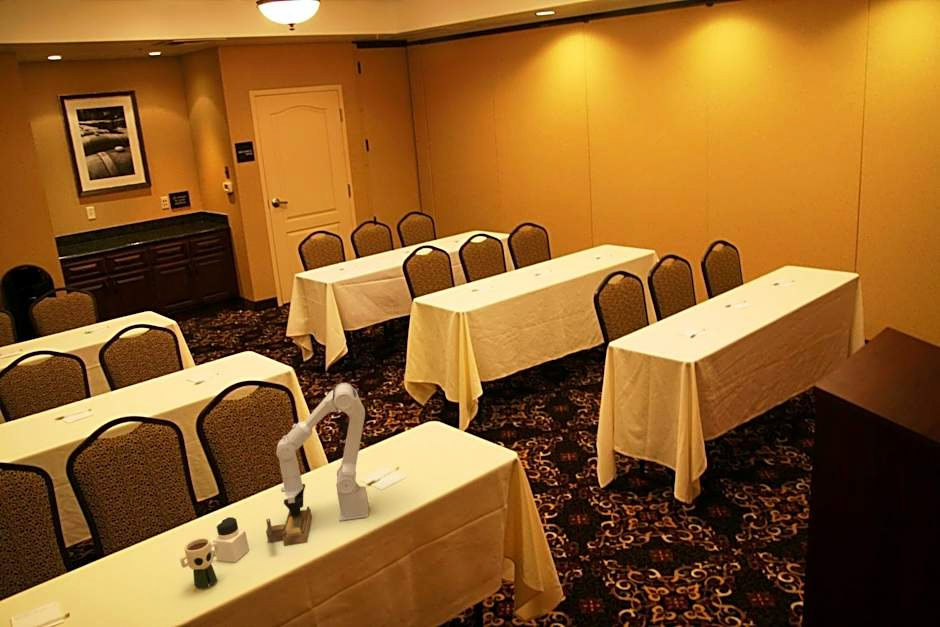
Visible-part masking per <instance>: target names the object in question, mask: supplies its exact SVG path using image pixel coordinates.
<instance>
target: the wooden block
mask: <svg viewBox="0 0 940 627" xmlns="http://www.w3.org/2000/svg"><path fill="white" fill-rule="evenodd" d="M303 523H304V518H303V515H299V516H293V517H289V520H288V523H287V527H286V534H287V535H293V534H299V533H301V531H302V527H303Z"/></svg>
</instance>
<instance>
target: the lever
mask: <svg viewBox="0 0 940 627" xmlns="http://www.w3.org/2000/svg"><path fill="white" fill-rule="evenodd" d="M265 520H266V528H267V527H268V533H269V539H270V544H272V543H274V541H273V534H272V527H271V526H272V522H271V518H266V519H265Z"/></svg>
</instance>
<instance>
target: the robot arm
mask: <svg viewBox="0 0 940 627" xmlns="http://www.w3.org/2000/svg"><path fill="white" fill-rule="evenodd" d="M338 410H339V411H341V412H342V413H345V414H346V415H347V417H349V420H348V421H349V422H348V427H347V432H346V433H347V434H346V439H345V443H344V444H345V445H344V450H343V454H342V455H343V456H342V460H341V464H340V466H339V468H337V470H336V485H335V486H336V493H337V499H338V503H339V508H340V509H339V510H340V512H339V519H338V520H339V522H341V521H342V522H343V521H349V520H357V519H361V518H368V517H369V516H370V515H369V514H370V503H369V497H368V491H367V487H366V486H362V485H361V486H360V484H359V483H358V482H357V481H356V478H357V477H356V476H357V472H356V468H357V462H358V456H359V450H360V445H361V440H362V439H361V438H362V433H363V428H364V423H365V418H366V410H365V407H364V405H363V403H362V400H361V398H360V397H359V394H358V392H357V390H356V389H355V388H354V387H353V386H352V385H351V384H350V383H349V382H340V383H338V384H337V385H336V386H335V388H334V389H332V390H331V391H329V393H328V394H326V396H325V397H324V398H323V399H322V401H321V402H319V404H318V405H317V406H316V408H315V409H314V410H313V411H312V412H311V413H310V415H309V416H308V417H307V418H306V419H305V420H301V421H298V422H297V423H294V424H293V425H292V429H291V430H290V431H289V432H288V433H287V434H285V435H283V437H282V438H281V439H280V440H279V441H278V442H277V447H276V451H275V452H276V457H277V458H278V461H279V468H280V471H281V472H280V474H281V479H282V484H283V487H281V488H280V491H281V493H285V495H286V497H287V498H285V499H284V500H283V504H284V505H285V507H286V508H287V509H288V510H289V511H290V513H291V515H292V517H293V516H299V515H301V512H300V511H301V509H302V508H303V507H304V493H305V488H306V484H305V483H303V481H302V476H301V471H300V467H299V465H300V464H299V460H298V457H297V453H296V450H299V449H300V448H301V447H302V446H303V444H305V443H306V441H307V440H308V439H309V438H310V437H311V436H312V435H313V428H314V427H315V426H316V425H317V424H318V423H319V422H320V421H321V420H323V418H325V416H326V415H327V414H328V413H337V412H338ZM289 511H288V512H289Z"/></svg>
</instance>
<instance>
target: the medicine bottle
mask: <svg viewBox="0 0 940 627" xmlns="http://www.w3.org/2000/svg"><path fill="white" fill-rule="evenodd" d="M215 526H216V532H217V536H216V537H215V538H214V539H212V543H214V542H216V543H217V546H218V552H217V553H215V556H216V561H218V562H227V563H237V562H238V561H240V560H241V558H242V557H243V556H245V554H247V553H248V552H249V550H250V547H249V544H248V543H249V542H248V537H247V533H246V530H245V529H239V526H238V521H237V519H236V518H235V517H234V516H233V517H229V516H228V517H224V518H222V519H220V520H219V521H217V522H216V524H215ZM213 548H214V547H213ZM214 550H215V548H214Z"/></svg>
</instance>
